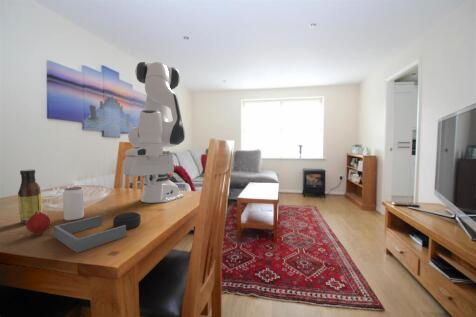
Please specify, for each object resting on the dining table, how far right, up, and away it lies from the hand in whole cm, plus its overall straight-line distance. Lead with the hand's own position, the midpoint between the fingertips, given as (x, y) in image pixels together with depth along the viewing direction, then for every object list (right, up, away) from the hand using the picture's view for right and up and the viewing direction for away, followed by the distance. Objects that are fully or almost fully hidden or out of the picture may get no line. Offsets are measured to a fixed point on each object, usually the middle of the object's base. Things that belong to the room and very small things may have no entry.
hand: (151, 186), depth 87 cm
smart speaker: (-6, -14, -7) cm, 17 cm away
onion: (-30, -14, -16) cm, 37 cm away
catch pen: (-13, -14, -17) cm, 25 cm away
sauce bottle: (-44, -13, -4) cm, 46 cm away
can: (-31, -13, +1) cm, 34 cm away
